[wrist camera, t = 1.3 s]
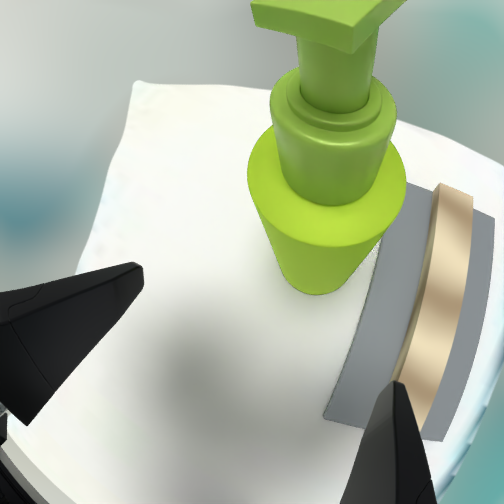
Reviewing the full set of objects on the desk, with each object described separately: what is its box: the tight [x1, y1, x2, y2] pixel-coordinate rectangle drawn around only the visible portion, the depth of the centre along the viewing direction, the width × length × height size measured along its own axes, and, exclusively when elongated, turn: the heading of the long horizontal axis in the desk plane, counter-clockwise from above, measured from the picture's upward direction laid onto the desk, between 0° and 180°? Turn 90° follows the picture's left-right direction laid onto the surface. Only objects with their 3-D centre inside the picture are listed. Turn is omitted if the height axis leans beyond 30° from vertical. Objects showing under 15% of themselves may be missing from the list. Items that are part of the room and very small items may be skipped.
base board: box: [323, 182, 495, 442], centre depth 19 cm, size 20×11×1 cm, turn 160°
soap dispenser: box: [247, 0, 407, 295], centre depth 13 cm, size 6×7×20 cm
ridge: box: [389, 183, 473, 431], centre depth 18 cm, size 20×4×2 cm, turn 160°
